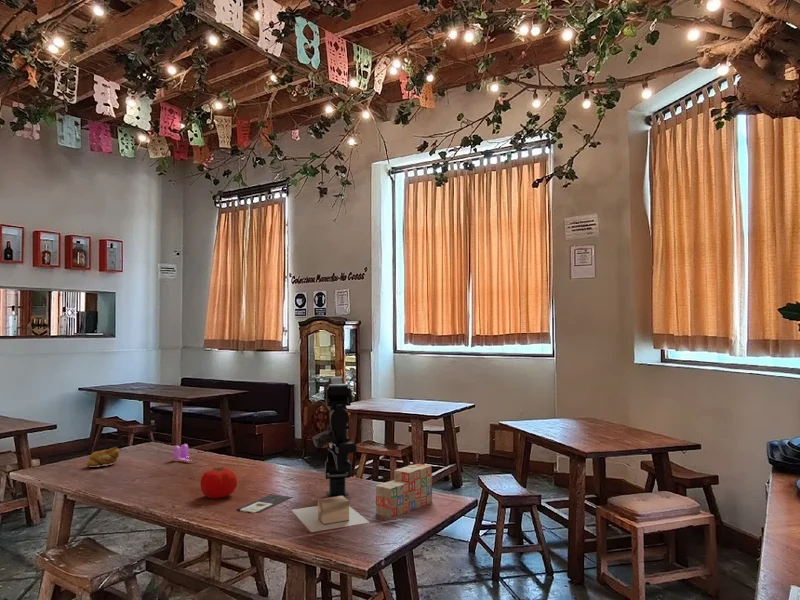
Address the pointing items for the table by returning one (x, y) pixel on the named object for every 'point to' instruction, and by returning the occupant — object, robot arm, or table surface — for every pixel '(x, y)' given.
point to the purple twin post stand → (181, 452)
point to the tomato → (218, 482)
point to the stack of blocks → (405, 490)
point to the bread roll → (103, 457)
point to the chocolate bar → (264, 503)
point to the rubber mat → (313, 524)
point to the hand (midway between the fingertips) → (339, 470)
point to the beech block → (333, 510)
